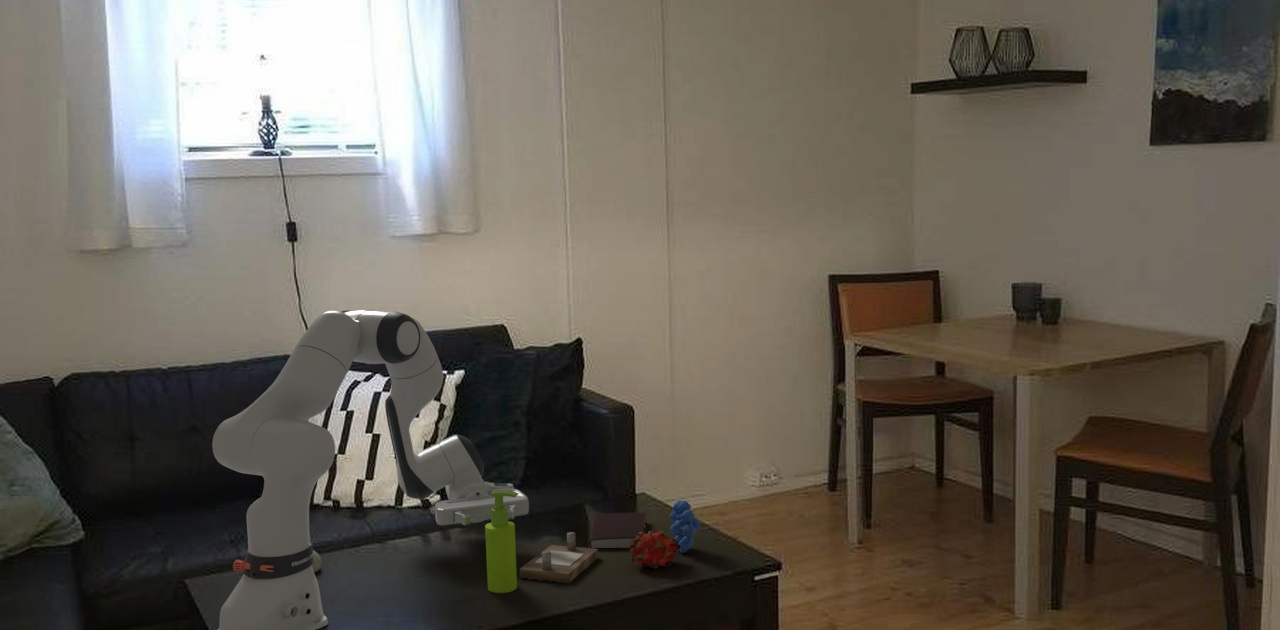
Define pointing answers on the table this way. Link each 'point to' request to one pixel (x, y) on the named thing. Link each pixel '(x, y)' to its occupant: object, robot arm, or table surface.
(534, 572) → the pin seat
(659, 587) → the table surface
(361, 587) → the table surface
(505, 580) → the soap dispenser
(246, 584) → the robot arm
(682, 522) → the grapes
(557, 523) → the table surface
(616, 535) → the book
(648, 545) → the dragon fruit
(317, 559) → the sea urchin shell
